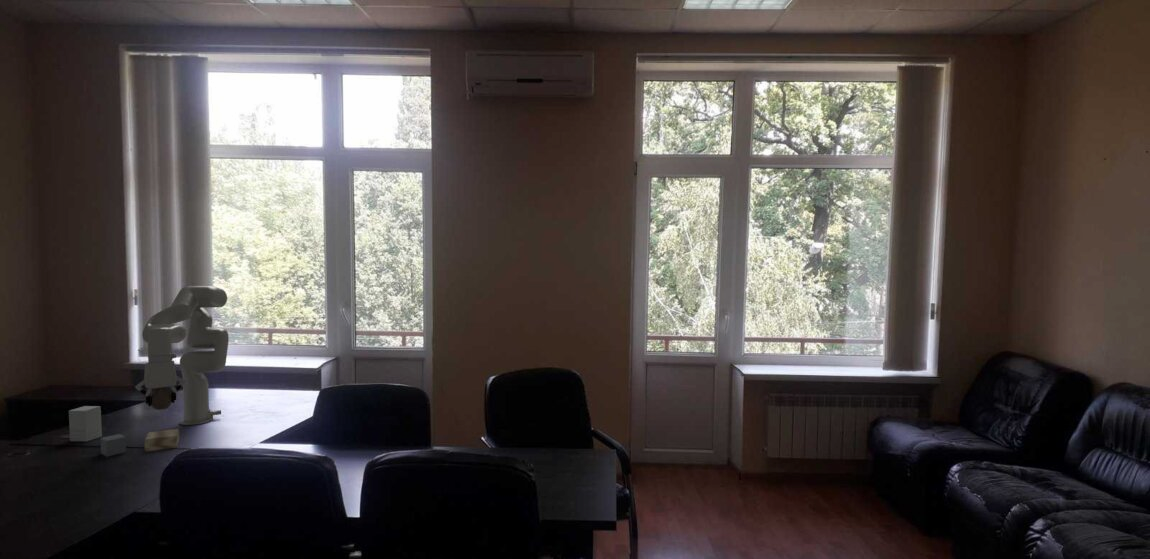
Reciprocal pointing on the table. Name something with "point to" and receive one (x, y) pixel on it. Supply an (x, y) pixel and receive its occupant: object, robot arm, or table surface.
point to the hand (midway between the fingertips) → (161, 403)
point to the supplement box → (85, 423)
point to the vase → (161, 399)
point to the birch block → (161, 440)
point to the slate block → (113, 445)
